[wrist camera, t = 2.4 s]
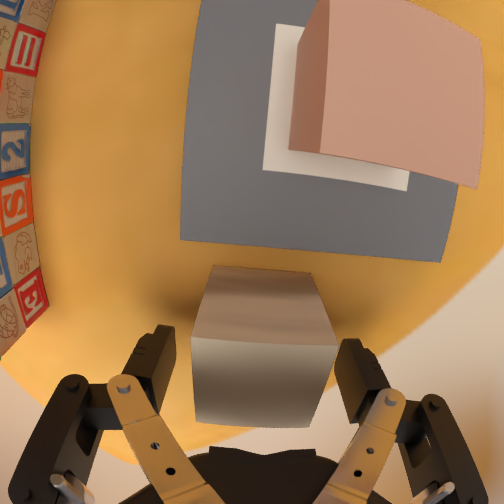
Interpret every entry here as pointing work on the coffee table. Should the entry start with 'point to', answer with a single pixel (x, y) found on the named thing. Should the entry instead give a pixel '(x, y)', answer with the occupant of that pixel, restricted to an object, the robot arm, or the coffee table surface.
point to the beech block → (260, 349)
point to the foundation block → (390, 89)
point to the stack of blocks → (19, 166)
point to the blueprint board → (287, 153)
